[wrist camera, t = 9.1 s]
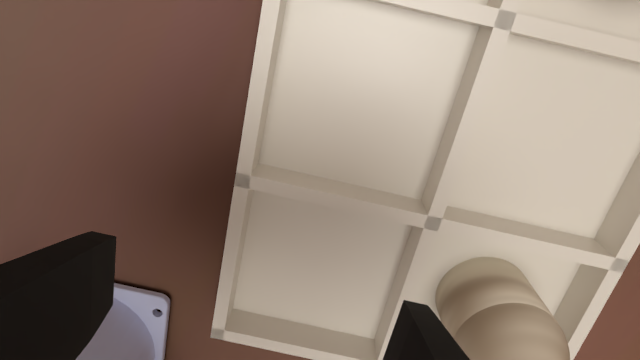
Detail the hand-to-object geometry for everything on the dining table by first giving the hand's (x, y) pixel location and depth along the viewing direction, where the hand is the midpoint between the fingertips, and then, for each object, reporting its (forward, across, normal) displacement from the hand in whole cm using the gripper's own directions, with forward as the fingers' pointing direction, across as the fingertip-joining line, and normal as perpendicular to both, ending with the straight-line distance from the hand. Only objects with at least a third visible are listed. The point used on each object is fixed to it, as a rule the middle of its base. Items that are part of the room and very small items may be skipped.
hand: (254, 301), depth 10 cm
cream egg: (+9, -10, +4) cm, 14 cm away
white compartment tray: (+9, -6, -4) cm, 12 cm away
